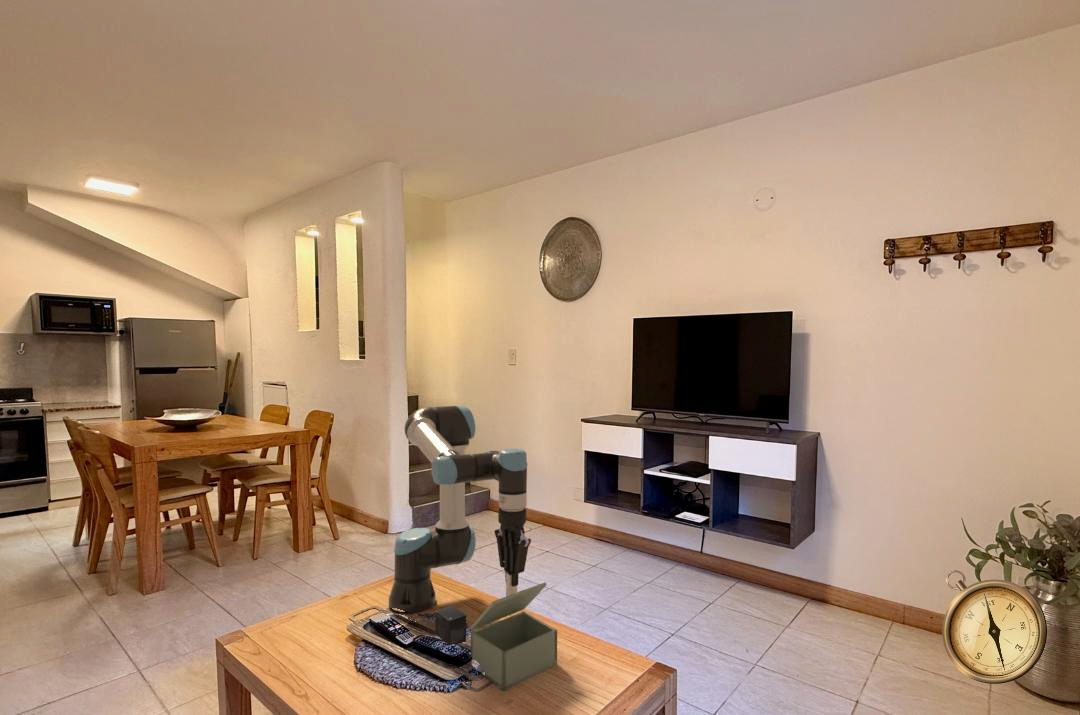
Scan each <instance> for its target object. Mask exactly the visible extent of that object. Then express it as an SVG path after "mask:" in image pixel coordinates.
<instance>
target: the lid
mask: <svg viewBox="0 0 1080 715" xmlns="http://www.w3.org/2000/svg"><path fill="white" fill-rule="evenodd" d="M546 586H547V583H546V582H542V583H539V584H537V585H534V586H531V587H529V588H525V589H523V590H519V591H517V593H515V594H512V595H509V596H506V595H505V596H504V597H500V598H499V599H496V600H493V601H492V602H490V604H489V605H488V606H487V608H486V609H485V610H484V611H483V612H482V613H481V614H480V616H478V618H477V619H476V620H475V621H474V622H473V624H472V625H471V626H470V630H471V631H475V630H476V629H480V628H482V627H485V626H487V625H490V624H492V623H493V622H494V623H495V622H497V621H500V620H502V619H503V618H504V619H505V618H507V617H510V616H512V615H515V614H517V613H520V612H522V611H524V610H526V608H527V607H528V606H529V605H530V604H531V603H532V601H533V600H534V599H535V598H536V597H537V596H538V595H539V594H540V593H541V592H542V591H543V590H544V589H545V587H546Z"/></svg>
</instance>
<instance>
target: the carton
mask: <svg viewBox="0 0 1080 715" xmlns="http://www.w3.org/2000/svg"><path fill="white" fill-rule="evenodd" d="M471 657H472V658H473V659H474V660H476V661H477V662H478V663H479V664H480V666H481V667H482V668H483V670H484V672H485V676H484V678H486V680H488V681H490V682H491V683H492V684H494V685H495V686H496V687H498V689H500V690H501V691H503V692H504V691H507V690H508V689H510V688H512V687H514V686H516V685H518V684H520V683H522V682H523V681H526V680H527V679H529V678H531V677H533V676H535V675H537V674H539V673H541V672H543V671H545V670H546V669H549V668H551V667H552V666H554V665H557V664H558V629H556V628H555V627H553V626H550V625H548V624H547V623H545V622H544V621H542V620H540V619H538V618H536V617H534V616H533V615H531V614H529V613H528V612H526V611H524V610H522V611H520V612H517V613H515V614H512V615H510V616H507V617H505V618H504V619H503V618H502V619H500V620H497V621H495V622H494V623H493V622H492V623H490V624H487V625H485V626H482V627H480V628H477V630H476V629H475V630H472V631H471V632H470V658H471Z"/></svg>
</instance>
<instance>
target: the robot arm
mask: <svg viewBox="0 0 1080 715" xmlns="http://www.w3.org/2000/svg"><path fill="white" fill-rule="evenodd" d="M404 434H405V437H406V439H407V441H408V442H410V444H412V445H413V446H416V447H418V449H419V450H420V451H421V452H422V453H423V455H424V456H425V457H426V458H427V459H428V461H429V462H430V464H431V477H432V479H433V480H432V481H433V482H434V483H435V484H436V485H438V486H439V520H438V521H437V522H436V523H435V525H434V528H435V530H434V531H431V529H430V528H428V527H415V528H411V529H410V528H409V529H407V530H405V531H402V532H401V533H400V534H399V535H397V537H396V538H395V543H394V549H393V550H394V551H393V553H394V581H393V583H392V587H391V591H390V594H389V597H388V607H389V609H390V608H397V609H400V610H403V611H405V612H408V613H407V614H412V613H413V614H414V613H419V612H423V611H426V610H428V609H431V607H433V606H434V605H435V604H436V592H435V588H434V584H433V581H432V578H431V570H432V569H436V568H443V567H446V566H447V567H448V566H452V565H460V564H462V563H466V562H469V561H470V560H471V559H472V557H473V555H474V554H475V551H476V550H475V549H476V545H477V544H476V543H477V539H476V534H475V529H474V528H473V527H472V526H470V522H469V521H468V520H467V519H466V515H465V514H466V507H465V506H466V504H465V503H466V497H465V496H466V495H465V494H466V492H465V490H466V483H470V482H471V483H473V482H483V481H493V480H495V481H497V482H498V507H499V509H498V510H497V511H498V512H497V514H498V519H497V520H498V521H497V522H498V524H500V526H499V528H497V529H494V531H493V532H494V536H495V538H496V545H497V552H498V560H499V566H500V567H501V568H502V569H503V570H504V573H505V574H504V576H505V578H504V579H505V581H504V582H505V597H506V596H509V595H512V594H515V593H517V592H518V585H519V574H521V573H524V572H525V568H526V562H527V558H528V557H527V556H528V551H529V546H530V544H531V543H532V539H531V538H530V537H529V538H527V536H526V535H525V528H524V525H525V524H526V523H527V508H526V507H527V503H528V502H527V501H528V498H527V496H528V494H527V490H528V489H527V484H528V483H527V482H528V479H527V478H528V462H527V452H526V451H525V450H524V449H519V448H504V449H501V450H500V451H499V450H492V449H490V450H486V451H484V452H481V453H470V454H469V453H468V454H465V453H466V449H467V447H469V446H470V440H471V439H474V437H475V435H476V420H475V418H474V415H473V412H472V411H471V410H470V408H469V407H467V406H464V405H447V406H444V405H443V406H425V407H421V408H418V409H417V410H415V411H414V412H412V413H411V414H410V415H409V416H408V418H407V419H406V422H405V424H404Z"/></svg>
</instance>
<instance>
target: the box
mask: <svg viewBox="0 0 1080 715" xmlns="http://www.w3.org/2000/svg"><path fill="white" fill-rule="evenodd" d="M434 613H435V614H434V615H435V616H434V618H435V621H434V622H435V623H434V625H435V627H434V628H435V631H434V635H435V634H436V635H437V636H439V637H440V638H441V639H442V640H443V641H444V642H446V643H447V644H448V645H452V644H458V643H462V642H466V643H467V614H466V613H465V612H463V611H461V610H460V609H458V608H457V607H456V606H454V605H453V604H452V605H449V606H445V607H443V608H438V609H436V610H435V612H434Z"/></svg>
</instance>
